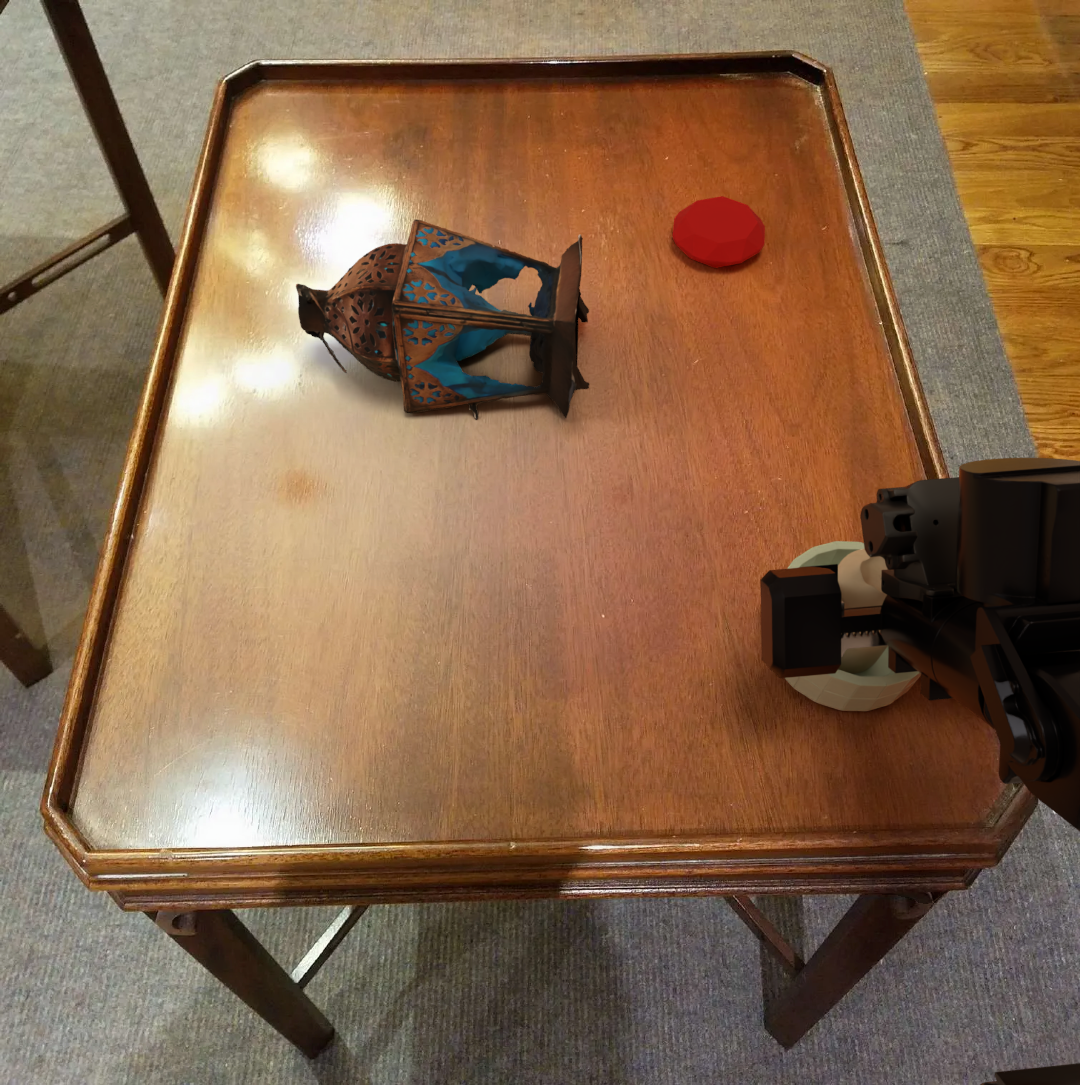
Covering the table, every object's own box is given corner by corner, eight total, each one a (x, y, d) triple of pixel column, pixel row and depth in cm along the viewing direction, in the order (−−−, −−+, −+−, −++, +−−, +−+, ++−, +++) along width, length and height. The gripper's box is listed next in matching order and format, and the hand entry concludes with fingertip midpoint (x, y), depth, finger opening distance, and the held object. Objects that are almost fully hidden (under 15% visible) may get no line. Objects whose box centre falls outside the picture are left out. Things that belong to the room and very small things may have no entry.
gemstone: (713, 287, 88) (718, 263, 86) (653, 238, 92) (656, 213, 90) (780, 249, 91) (786, 224, 89) (718, 203, 95) (723, 178, 92)
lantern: (580, 411, 88) (321, 394, 88) (594, 234, 84) (320, 215, 83) (588, 442, 73) (273, 422, 72) (606, 227, 68) (269, 204, 68)
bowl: (932, 715, 65) (959, 687, 61) (771, 711, 65) (786, 683, 61) (903, 577, 71) (925, 542, 67) (755, 573, 71) (769, 539, 67)
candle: (871, 686, 66) (919, 622, 57) (796, 658, 67) (832, 591, 58) (887, 623, 68) (936, 553, 60) (815, 597, 69) (852, 525, 61)
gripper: (1171, 485, 46) (1000, 449, 61) (807, 514, 45) (726, 470, 61) (1153, 692, 49) (993, 608, 64) (808, 723, 48) (730, 630, 63)
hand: (863, 576), depth 63 cm, fingers open, 7 cm apart
